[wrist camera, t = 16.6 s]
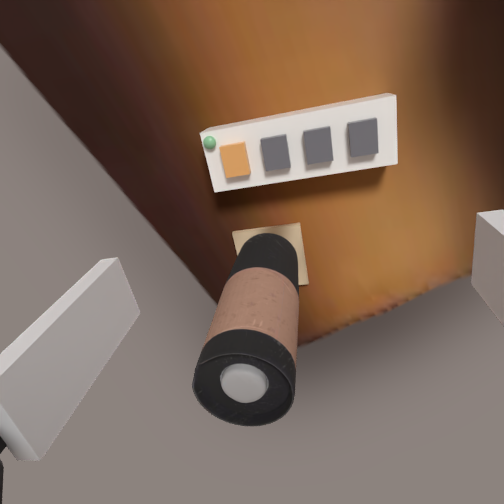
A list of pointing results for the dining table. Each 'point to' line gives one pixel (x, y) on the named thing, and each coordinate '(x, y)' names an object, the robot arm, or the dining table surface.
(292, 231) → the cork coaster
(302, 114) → the socket strip
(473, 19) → the dining table surface
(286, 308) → the travel mug
